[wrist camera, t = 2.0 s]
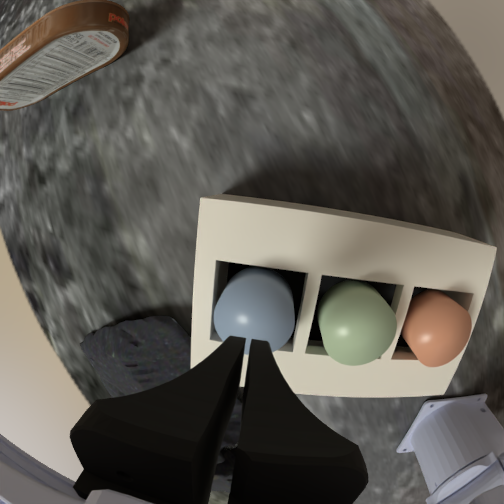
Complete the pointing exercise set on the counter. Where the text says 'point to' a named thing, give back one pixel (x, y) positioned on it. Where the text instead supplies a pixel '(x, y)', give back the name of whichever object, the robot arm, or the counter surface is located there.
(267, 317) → the slate blue button
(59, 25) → the tin
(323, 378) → the button console
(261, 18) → the counter surface
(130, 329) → the black fabric pouch
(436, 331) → the terracotta button
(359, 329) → the sage green button
